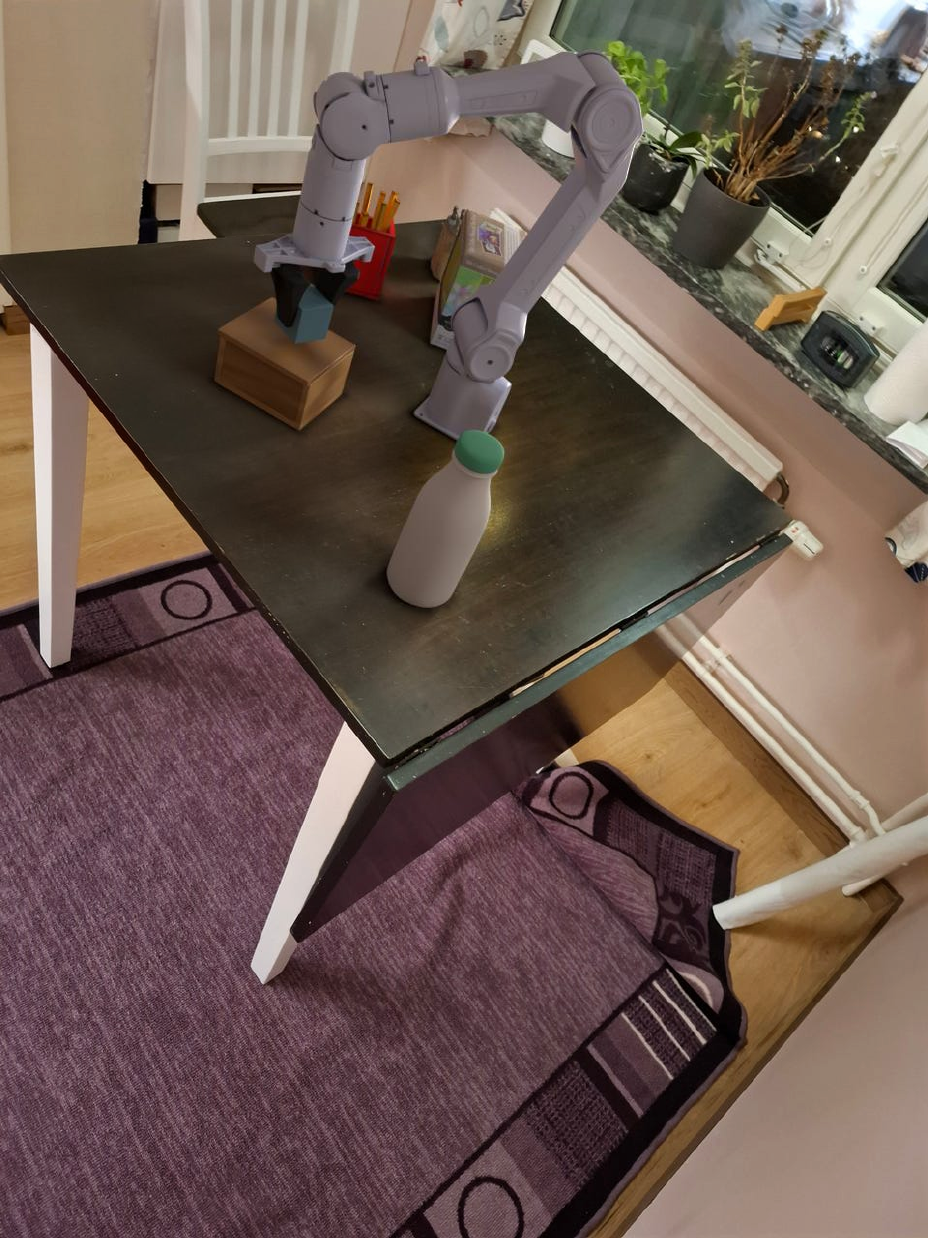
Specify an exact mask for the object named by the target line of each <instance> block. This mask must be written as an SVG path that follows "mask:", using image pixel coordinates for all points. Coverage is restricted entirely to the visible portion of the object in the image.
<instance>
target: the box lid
mask: <svg viewBox="0 0 928 1238" xmlns="http://www.w3.org/2000/svg"><path fill="white" fill-rule="evenodd" d="M276 307H277V304H276V297H274V296H271V297H269V298H268V299H266V300H265V301H263V302H261V303H259V304H258V305H256V306H254V307H252V308H251V309H249V310H247V311H246V312H244V313H243V314H241V315H239V316H238V317H236V318H234V319H232V320H231V321H229V322H227V323H226V324H224V325H222V326H221V327H219V328H218V329H217V333H216V335H218V336H219V337H223V338H225V339H226V340H228V341H230V342H231V343H233V344H235V345H237V346H238V347H240V348H242V349H243V350H245V351H247V352H248V353H250V354H252V355H254V356H255V357H257V358H259V359H260V360H262V361H264V362H265V363H267V364H269V365H271V366H272V367H274V368H276V369H277V370H279V371H281V372H283V373H284V374H286V375H288V376H289V377H291V378H293V379H294V380H296V381H298V382H300V383H301V384H303V385H305V386H306V387H307V386H308V385H310V384H311V383H312V382H314V381H315V380H316V379H317V378H319V377H320V376H321V375H323V374H324V373H325V372H326V371H328V370H329V369H330V368H332V367H333V366H334V365H335V364H337V363H338V362H339V361H341V360H342V359H343V358H345V357H346V356H347V355H348V354H350V353H351V352H352V351H354V352H355V349H356V345H355V344H354V343H352V342H350V341H349V340H347V339H345V338H343V337H342V336H340V335H338V334H337V333H335V332H333V331H332V330H330V329H328V331H327V335H326V338H325V339H321V340H315V341H309V342H303V343H297V344H295V343H294V342H293V341H292V340H291V339H290V338H289V337H288V336H287V335H286V334H285V333H284V332H283V330H282V329H281V328H280V327H279V326H278V325H277V324H276V323H275V322H274V317H275V312H276Z"/></svg>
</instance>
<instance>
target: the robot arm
mask: <svg viewBox="0 0 928 1238" xmlns="http://www.w3.org/2000/svg"><path fill="white" fill-rule="evenodd" d="M412 65H413V69H407V70H402V71H395V72H386V73H381V74H375V70H366V71H363V79H362V78H361V76H358V75H354V73H353V72H348V71H339V72H335V73H333V74H330V75H329V76H327V79H326V80H322V82H321V83H320V85H319V86H318V88H317V91H314V92H313V96H312V97H313V99H312V100H313V101H312V103H313V109H314V113H315V116H316V118H317V120H318V123H316V124H315V126H314V131H313V135H312V138H311V146H310V149H309V151H308V154H307V159H306V163H305V169H304V174H303V179H302V184H301V188H300V194H299V200H298V204H297V210H296V215H295V219H294V225H293V230H292V232H291V233H289V234H286V235H284V236H281V237H279V238H277V239H274V240H271V241H269V242H267V243H262V244H255V249H254V254H253V255H254V256H253V263H254V264H255V265H256V266H257V268H259V269H260V270H261V271H262V272H263V273H270V277H271V280H272V284H273V288H274V295H275V299H276V304H277V318H278V319H279V320H280V321H281V322H282V323H283V324H284V326H285V327H291V326H292V324H293V322H294V320H295V317H296V314H297V310H298V306H299V303H300V301H301V298H302V296H303V294H304V292H305V291H306V289H307V288H308V286H309V285H310V284H311V282H310V281H309V280H308V279H307V278H306V277H305V276H304V275H303V269H301V267H302V266H304V267H311V268H312V267H313V268H316V283H315V288H316V289H317V290H318V291H319V292H320V293H321V294H322V295H323V296H324V297H325V298H326V299H327V300H328V301H329V302H330V303H331V304H332V305H333V306H334V307H333V310H334V309H335V307H336V305H337V304H338V302H339V301H340V299H342V297H343V295H344V294H345V293H347V292H346V291H347V289H348V288H349V287H350V286H352V285H353V284H354V283H355V282H356V281H358V278H359V274H360V272H359V270H358V269H357V268H356V267H355V266H354V265H353V263H354V260H357V259H361V260H362V261H363V262H371V258H372V254H373V251H374V245H373V244H372V243H370V242H369V241H368V240H367V239H366V238H365V237H352V236H349V232H350V228H351V224H352V220H353V216H354V212H355V208H356V204H357V200H359V196H360V191H361V188H362V183H363V180H364V177H365V176H364V175H365V167H366V163H367V159H368V158H369V157H370V156H372V155H373V154H374V153H375V151H376V150H377V149H378V148H379V147H380V146H381V145H387V144H393V143H394V144H395V143H399V142H406V141H413V140H419V139H420V140H421V139H426V138H433V137H441V136H445V135H447V134H448V133H450V130H451V129H452V128H453V127H454V125H455V124H456V123H457V121H459V120H462V119H463V120H464V119H472V118H475V119H476V118H484V117H485V118H487V117H496V116H497V117H498V116H509V115H523V114H533V113H536V114H539V115H541V116H542V117H543V118H544V119H546V120H547V121H549V122H550V123H551V124H553V125H554V126H555V127H557V128H559V129H560V130H561V131H562V132H564V133H566V134H569V133H570V139H571V147H572V152H573V159H574V166H573V168H572V170H570V172H569V174H568V175H567V176H566V178H565V179H564V181H563V182H562V183H561V185H560V187H559V188H558V189H557V190H556V193H555V194H554V195H553V197H552V198H551V199H550V201H549V202H548V204H547V205H546V206H545V208H544V209H543V211H542V212H541V214H540V215H539V216H538V218H537V219H536V221H535V222H534V223H533V225H532V227H531V228H530V230H529V231H528V232H527V233H526V237H525V238H524V240H523V241H522V242H521V244H520V245H519V247H518V248H517V250H516V251H515V253H514V254H513V255H512V257H511V258H510V260H509V261H508V263H507V264H506V265H505V267H504V268H503V270H502V271H501V273H500V274H499V275H498V277H497V278H496V280H495V281H494V283H491V284H485V285H480V286H479V287H478V289H477V290H476V292H475V293H474V294H473V295H472V296H471V297H470V298H468V299H467V300H465V301H463V302H462V303H460V304H459V305H458V306H457V307H456V309H455V310H454V312H453V314H452V317H451V327H452V330H453V332H454V334H455V335H454V337H453V339H452V342H451V344H450V345H449V347H448V349H447V350H446V352H445V354H444V356H443V359H442V362H441V365H440V367H439V370H438V372H437V375H436V378H435V379H434V383H433V386H432V388H431V391H430V393H429V396H428V397H427V398H426V399H425V400H424V401H423V402H422V403H421V404H420V405H419V406H418V407H417V408H416V409H415V410H414V412H413V416H414V417H416V418H417V419H419V420H420V421H422V422H424V423H426V424H427V425H429V426H431V427H433V428H434V429H436V430H437V431H439V432H441V433H443V434H444V435H446V436H447V437H449V438H451V439H453V440H454V441H456V442H457V440H458V438H459V437H460V435H461V434H462V433H463V432H465V431H469V430H478V431H482V432H485V433H488V434H489V433H491V432H492V430H493V428H494V427H495V425H496V423H497V420H498V418H499V415H500V413H501V411H502V409H503V408H504V407H503V406H504V405H505V403H506V401H507V398H508V396H509V394H510V391H511V388H512V383H511V382H510V381H508V379H506V378H505V377H504V376H505V375H507V373H508V372H509V371H511V369H512V366H513V365H514V362H515V357H516V353H517V351H518V349H519V347H520V346H521V345H522V343H523V341H524V338H525V331H526V325H527V317H528V314H529V312H531V310H532V308H533V307H534V306H535V304H536V303H537V302H538V300H539V299H540V298H541V296H542V295H543V293H544V292H545V291H546V290H547V289H548V287H549V286H550V285H551V283H552V282H553V281H554V279H555V278H556V276H557V275H558V274H559V272H560V271H561V269H562V268H563V267H564V266H565V265H566V263H567V262H568V260H569V259H570V258H571V257H572V255H573V254H574V252H575V251H576V250H577V248H578V247H579V246H580V244H582V242H583V240H584V239H585V238H586V237H587V235H588V234H589V232H590V231H591V230H592V228H593V227H594V226H595V224H596V223H597V222H598V220H599V219H600V217H602V215H603V214H604V212H605V211H606V210H607V208H608V207H609V205H610V204H611V203H612V201H613V200H614V199H615V198H616V196H617V195H618V193H619V192H620V191H621V190H622V188H623V187H624V185H625V183H626V181H627V178H628V173H629V169H630V165H631V162H632V158H633V153H634V150H635V146H636V144H637V142H639V140H640V138H641V137H642V136H643V135H644V131H645V130H644V123H643V118H642V111H641V104H640V101H639V98H638V96H637V95H636V93H635V92H634V90H632V88H630V87H629V86H628V85H627V84H626V83H625V81H624V80H623V78H622V77H621V76H620V74H619V73H618V72H617V71H616V69H615V68H614V66H613V62H612V61H611V59H609V57H608V56H607V55H606V54H604V53H603V52H601V51H599V50H595V49H585V50H582V51H578V52H577V53H575V52H574V51H560V52H557V53H555V54H554V55H551V56H549V57H546V58H544V59H539V60H535V61H529V62H526V63H521V64H516V65H515V64H514V65H511V66H507V67H501V68H497V69H492V70H488V71H481V72H478V73H473V74H468V75H464V76H460V77H452V76H450V75H449V73H447V72H445V71H444V70H443V68H442V67H440V66H438V65H436V66H429V64H428V62H427V60H418V61H413V63H412Z"/></svg>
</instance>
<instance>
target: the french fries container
mask: <svg viewBox="0 0 928 1238" xmlns="http://www.w3.org/2000/svg"><path fill="white" fill-rule="evenodd" d="M374 186H375V183H374V182H371V181H368V182H367V185H366V188H365V193H364V198H363V202H362V207H361V211H360V212H359V208H360V205H361V200H360V199H358V200H357V204H356V208H355V212H354V216H353V220H352V224H351V228H350V232H349V236H352V237H365V238H366V239H367V240H368V241H369V242H370V243H372V244H373V245H374V251H373V254H372V258H371V262H363V261H362V260H361V259H357V260H354V263H353V265H354V266H355V267H356V268H357V269H358V270H359V272H360V274H359V278H358V281H356V282H355V283H354V284H353V285H352V286H350V287H349V288H348V289H347V291H346V292H345V293H348V294H351V295H355V296H359V297H363V298H367V299H371V300H374V301H379V298H380V294H381V290H382V287H383V284H384V281H385V278H386V274H387V270H388V267H389V265H390V260H391V257H392V253H393V250H394V247H395V242H396V240H397V236H396V227H395V221H394V218H395V215H396V213H397V211H398V210H399V207H400V205H401V200H400V199H399V196H400V193H399V192H398V191H397V190H391V192H390V195H389V199H388V202H387V201H385V200H386V197H387V192H386V191H384V190H380V191H379V194H378V198H377V203H376V206H375V209H374V214H373V216H371V215H370V213H369V207H370V203H371V199H372V194H373V190H374Z"/></svg>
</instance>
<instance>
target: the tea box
mask: <svg viewBox="0 0 928 1238" xmlns="http://www.w3.org/2000/svg"><path fill="white" fill-rule="evenodd" d="M465 210H466V212H465V215H464V217H463V220H462V222H461V225H460V228H459V231H458V234H457V237H456V239H455V242H454V245H453V248H452V250H451V253H450V256H449V258H448V261H447V264H446V267H445V270H444V273H443V275H442V278H441V281H440V280H439V284H438V287H437V290H436V292H435V299H434V300H435V301H434V307H433V316H432V323H431V332H430V344H431V345H433V346H436V347H438V348H441V349H442V350H446V351H447V349H448V347H449V345H450V344H451V342H452V339H453V337H454V335H455V334H454V332H453V330H452V327H451V317H452V314H453V312H454V310H455V309H456V307H457V306H458V305H459V304H460V303H462V302H463V301H465V300H467V299H468V298H470V297H471V296H472V295H473V294H474V293H475V292H476V290H477V289H478V287H479V286H480V285H485V284H491V283H494V281H495V280H496V278H497V277H498V275H499V274H500V273H501V271H502V270H503V268H504V267H505V265H506V264H507V263H508V261H509V260H510V258H511V257H512V255H513V254H514V253H515V251H516V250H517V248H518V247H519V245H520V244H521V242H522V241H523V240H524V238H525V237H526V235H527V231H524V230H522V229H521V228H517V227H515V226H512V225H510V224H507V223H504V222H502V221H500V220H497V219H494V218H492V217H489V216H487V215H484V214H483V213H479V212H477V211H473V210H471V209H469V208H467V209H465Z"/></svg>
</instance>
